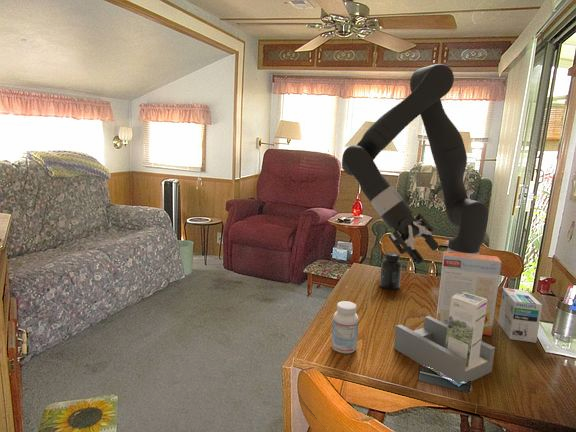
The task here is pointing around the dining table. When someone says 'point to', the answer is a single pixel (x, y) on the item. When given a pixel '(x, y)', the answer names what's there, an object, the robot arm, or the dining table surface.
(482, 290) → the cracker box
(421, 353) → the trap lane
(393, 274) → the supplement bottle
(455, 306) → the syrup box
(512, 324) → the light bulb box
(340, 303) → the pill bottle
